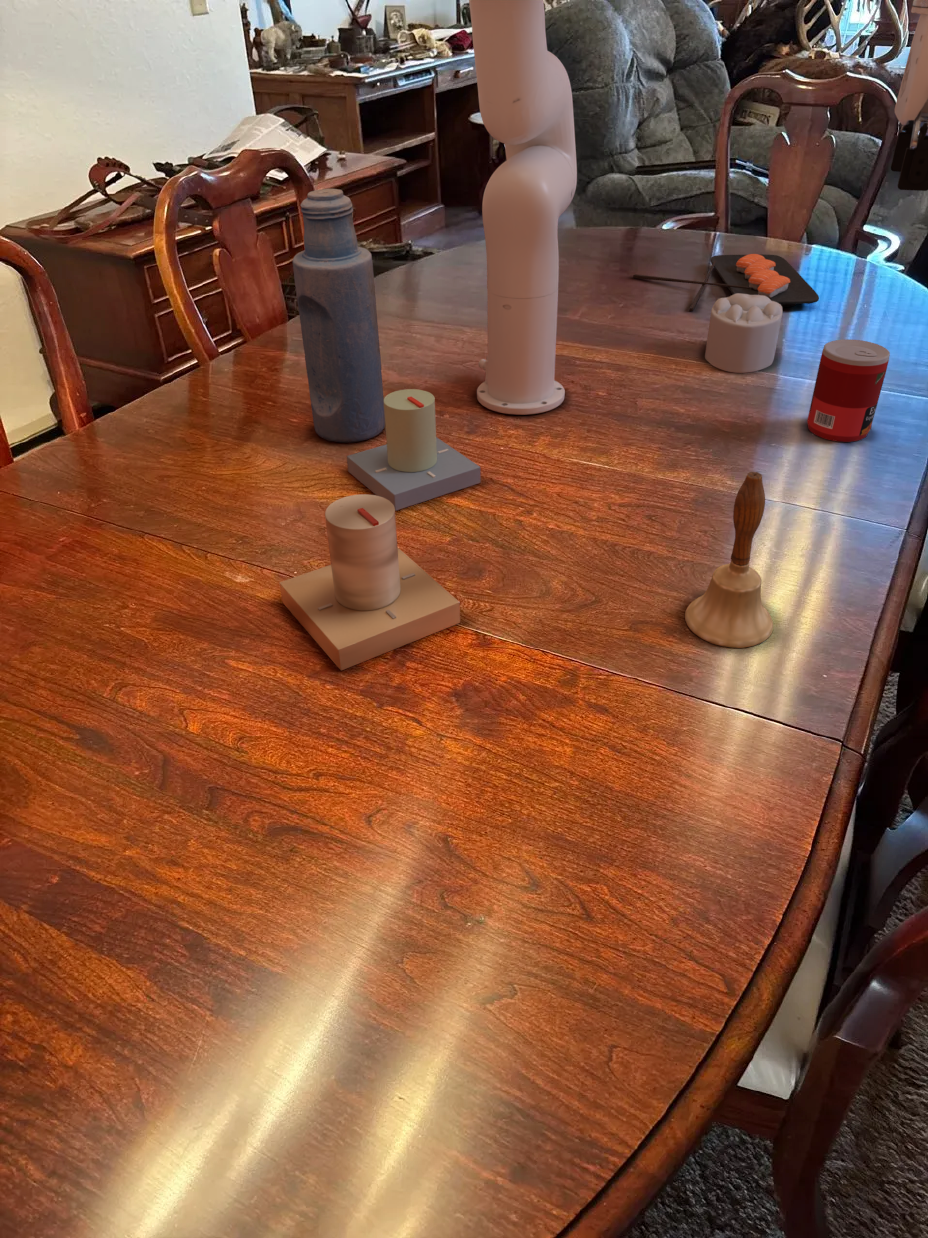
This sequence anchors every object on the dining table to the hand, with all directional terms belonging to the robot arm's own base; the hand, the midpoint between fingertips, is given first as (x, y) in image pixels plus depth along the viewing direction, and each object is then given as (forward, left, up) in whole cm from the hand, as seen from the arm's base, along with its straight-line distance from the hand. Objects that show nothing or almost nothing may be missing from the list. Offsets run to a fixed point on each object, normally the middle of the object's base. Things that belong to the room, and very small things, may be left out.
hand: (908, 179), depth 103 cm
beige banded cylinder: (0, -71, -28) cm, 76 cm away
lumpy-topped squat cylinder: (-27, +9, -31) cm, 42 cm away
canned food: (-1, 0, -31) cm, 31 cm away
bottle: (-39, -53, -31) cm, 73 cm away
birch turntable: (0, -71, -31) cm, 77 cm away
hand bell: (+21, -43, -31) cm, 57 cm away
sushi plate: (-54, +32, -31) cm, 70 cm away
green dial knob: (-22, -53, -29) cm, 64 cm away
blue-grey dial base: (-22, -53, -31) cm, 65 cm away
